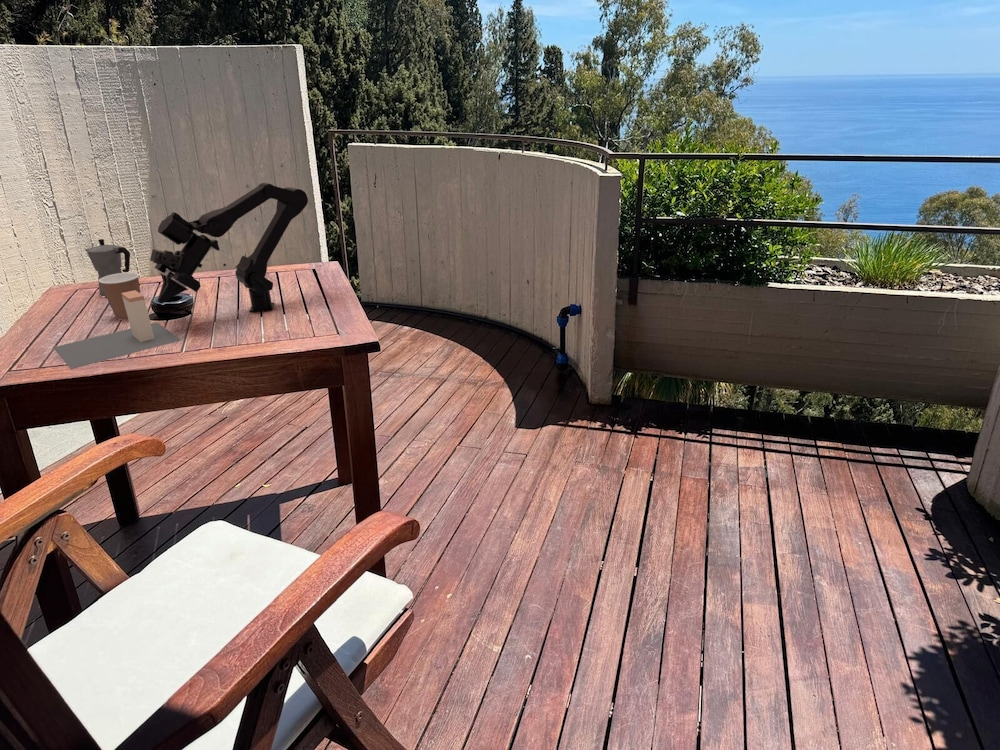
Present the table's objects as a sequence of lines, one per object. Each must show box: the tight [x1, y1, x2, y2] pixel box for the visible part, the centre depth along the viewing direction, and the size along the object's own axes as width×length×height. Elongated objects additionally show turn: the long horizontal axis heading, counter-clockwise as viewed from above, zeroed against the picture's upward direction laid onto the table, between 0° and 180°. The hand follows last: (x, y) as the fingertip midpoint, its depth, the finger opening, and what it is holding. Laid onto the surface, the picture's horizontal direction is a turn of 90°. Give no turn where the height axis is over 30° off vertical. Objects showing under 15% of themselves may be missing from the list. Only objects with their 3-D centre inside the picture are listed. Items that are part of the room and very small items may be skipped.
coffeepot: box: [84, 238, 131, 297], centre depth 214 cm, size 15×9×18 cm, turn 80°
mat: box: [52, 321, 182, 370], centre depth 176 cm, size 26×20×1 cm
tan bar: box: [121, 290, 155, 342], centre depth 177 cm, size 4×7×12 cm, turn 42°
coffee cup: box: [98, 272, 141, 321], centre depth 194 cm, size 10×10×12 cm
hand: (159, 302), depth 180 cm, fingers closed
